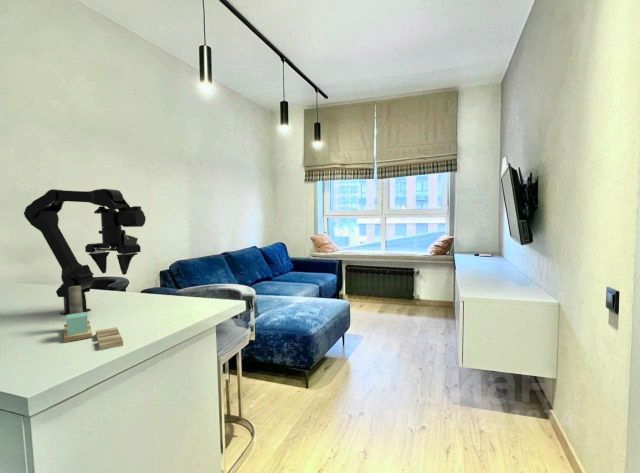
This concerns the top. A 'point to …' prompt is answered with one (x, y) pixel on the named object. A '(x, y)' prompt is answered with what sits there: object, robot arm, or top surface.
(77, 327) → the cube
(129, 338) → the top surface
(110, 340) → the beige rectangular block
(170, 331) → the top surface
